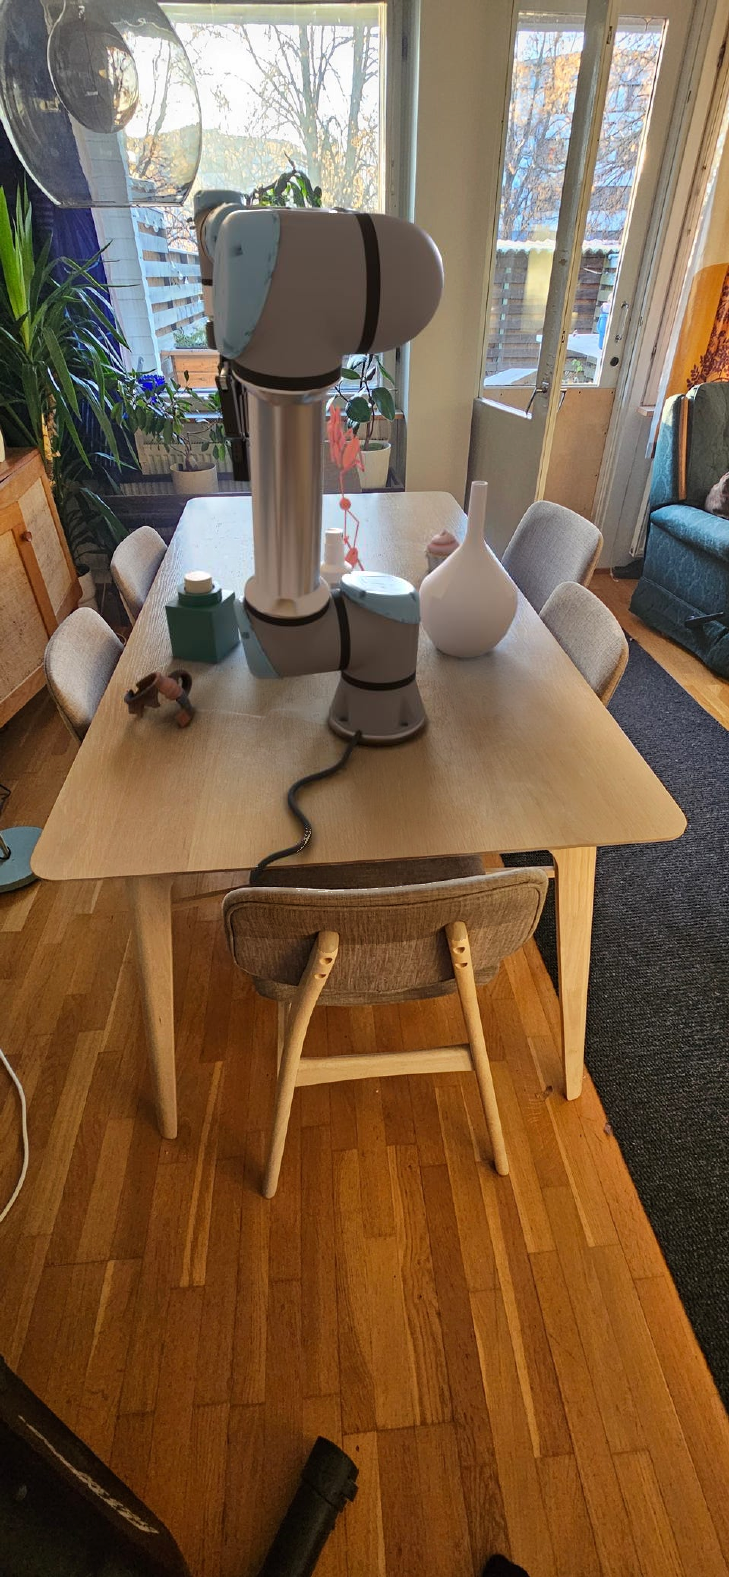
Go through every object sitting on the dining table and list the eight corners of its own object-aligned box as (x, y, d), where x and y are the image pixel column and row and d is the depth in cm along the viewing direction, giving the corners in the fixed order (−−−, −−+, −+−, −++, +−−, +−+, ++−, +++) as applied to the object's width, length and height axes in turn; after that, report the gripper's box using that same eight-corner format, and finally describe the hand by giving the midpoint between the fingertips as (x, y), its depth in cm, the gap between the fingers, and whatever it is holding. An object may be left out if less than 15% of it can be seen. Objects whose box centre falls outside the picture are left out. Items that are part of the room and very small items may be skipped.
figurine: (353, 549, 183) (353, 394, 162) (376, 585, 163) (380, 414, 142) (293, 552, 180) (285, 395, 159) (309, 590, 160) (303, 416, 139)
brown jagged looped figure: (177, 740, 111) (142, 700, 107) (142, 746, 117) (107, 708, 113) (217, 689, 118) (185, 650, 113) (182, 697, 124) (151, 660, 119)
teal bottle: (217, 663, 131) (209, 600, 124) (172, 657, 133) (162, 594, 126) (239, 641, 139) (233, 580, 132) (197, 635, 141) (189, 575, 133)
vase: (521, 667, 131) (548, 497, 114) (421, 669, 130) (433, 498, 112) (499, 625, 146) (520, 469, 128) (409, 627, 145) (418, 470, 127)
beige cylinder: (205, 596, 126) (204, 582, 125) (181, 593, 128) (179, 579, 126) (217, 586, 130) (215, 572, 129) (193, 583, 131) (191, 569, 130)
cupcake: (416, 567, 173) (419, 524, 167) (452, 563, 175) (456, 522, 169) (430, 580, 166) (433, 537, 160) (467, 577, 168) (472, 533, 162)
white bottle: (347, 628, 144) (347, 537, 133) (314, 625, 145) (312, 534, 134) (355, 615, 149) (355, 526, 138) (323, 612, 150) (321, 524, 139)
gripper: (218, 316, 117) (232, 470, 131) (192, 321, 106) (210, 489, 121) (263, 317, 116) (272, 472, 130) (241, 323, 106) (253, 491, 120)
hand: (242, 480), depth 125 cm, fingers closed
